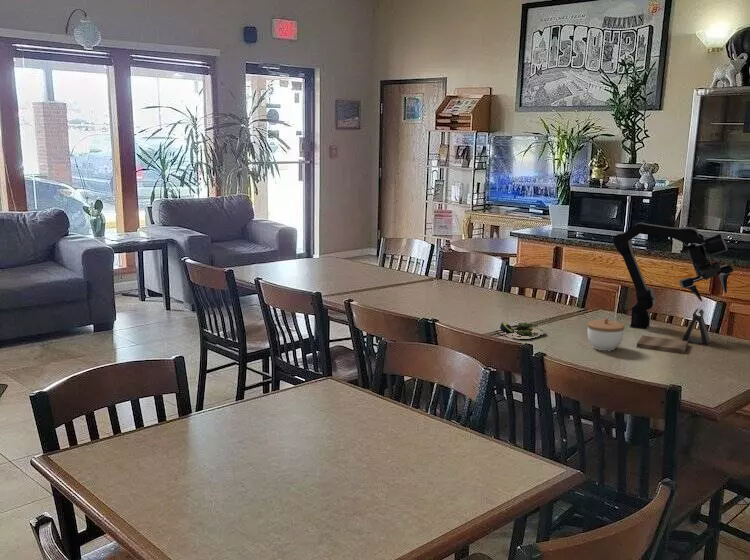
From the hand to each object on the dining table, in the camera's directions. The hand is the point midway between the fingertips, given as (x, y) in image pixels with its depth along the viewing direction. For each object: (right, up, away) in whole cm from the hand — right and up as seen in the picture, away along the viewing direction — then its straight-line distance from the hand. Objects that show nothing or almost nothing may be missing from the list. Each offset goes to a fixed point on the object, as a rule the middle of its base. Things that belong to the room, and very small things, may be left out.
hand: (713, 297), depth 270 cm
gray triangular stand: (-9, -17, -5) cm, 20 cm away
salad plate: (-73, -15, +5) cm, 75 cm away
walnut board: (-24, -18, -12) cm, 32 cm away
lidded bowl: (-46, -18, -14) cm, 52 cm away
